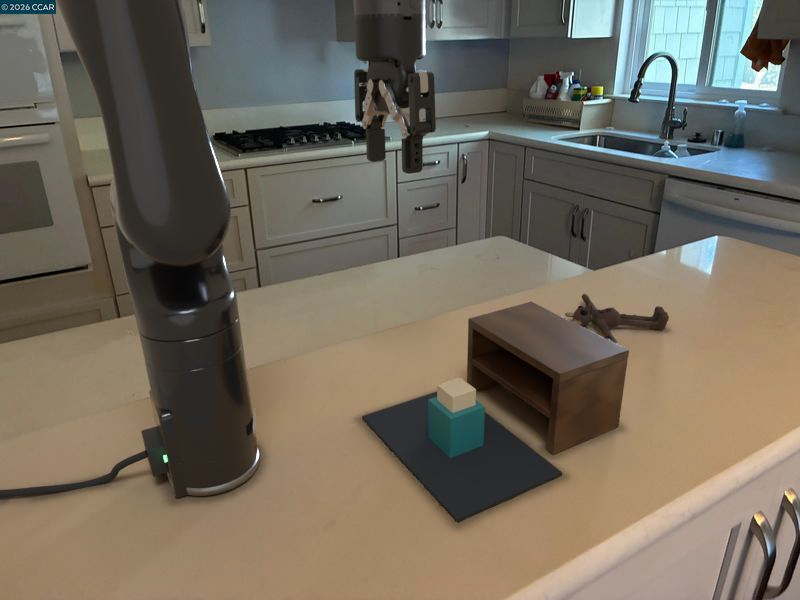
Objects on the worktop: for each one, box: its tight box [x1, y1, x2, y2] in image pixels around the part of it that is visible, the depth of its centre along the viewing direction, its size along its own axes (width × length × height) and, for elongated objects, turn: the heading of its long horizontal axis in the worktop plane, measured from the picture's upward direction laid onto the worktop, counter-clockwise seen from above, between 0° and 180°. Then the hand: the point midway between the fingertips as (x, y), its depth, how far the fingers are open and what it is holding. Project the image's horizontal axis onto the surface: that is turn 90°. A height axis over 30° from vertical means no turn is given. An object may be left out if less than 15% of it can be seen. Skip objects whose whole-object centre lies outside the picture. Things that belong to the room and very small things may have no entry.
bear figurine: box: [564, 293, 670, 344], centre depth 94 cm, size 18×4×14 cm
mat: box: [361, 391, 563, 523], centre depth 68 cm, size 13×20×1 cm, turn 30°
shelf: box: [466, 301, 630, 456], centre depth 73 cm, size 10×16×10 cm, turn 30°
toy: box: [428, 377, 486, 458], centre depth 67 cm, size 4×4×7 cm
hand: (393, 166), depth 71 cm, fingers open, 8 cm apart
